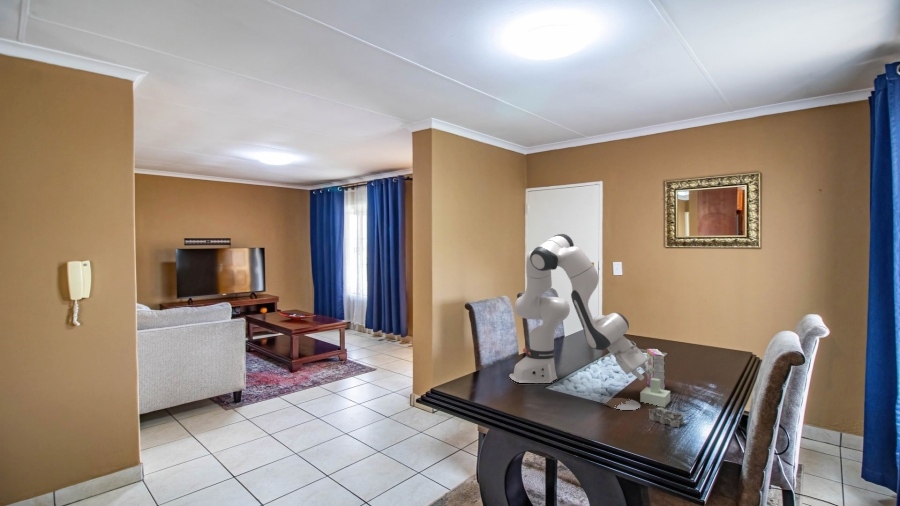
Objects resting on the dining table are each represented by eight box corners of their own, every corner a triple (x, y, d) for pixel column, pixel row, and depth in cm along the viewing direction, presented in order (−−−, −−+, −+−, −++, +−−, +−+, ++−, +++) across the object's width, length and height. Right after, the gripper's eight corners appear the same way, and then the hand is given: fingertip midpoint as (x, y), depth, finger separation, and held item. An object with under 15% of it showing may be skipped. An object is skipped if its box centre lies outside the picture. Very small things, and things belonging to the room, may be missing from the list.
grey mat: (614, 412, 165) (614, 410, 165) (596, 399, 179) (596, 398, 179) (648, 409, 167) (648, 408, 167) (627, 397, 181) (627, 396, 181)
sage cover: (640, 402, 175) (640, 379, 175) (646, 396, 182) (646, 374, 182) (664, 407, 169) (664, 384, 169) (670, 400, 176) (670, 378, 176)
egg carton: (646, 419, 158) (646, 408, 158) (656, 414, 163) (656, 404, 163) (676, 429, 150) (676, 417, 150) (686, 423, 154) (686, 412, 154)
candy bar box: (646, 384, 197) (646, 348, 197) (658, 385, 196) (658, 348, 196) (652, 392, 186) (652, 354, 186) (665, 393, 185) (665, 355, 185)
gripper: (618, 348, 173) (644, 377, 167) (634, 341, 189) (659, 367, 182) (607, 358, 176) (632, 387, 170) (624, 349, 192) (648, 376, 185)
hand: (646, 376), depth 176 cm, fingers open, 8 cm apart
